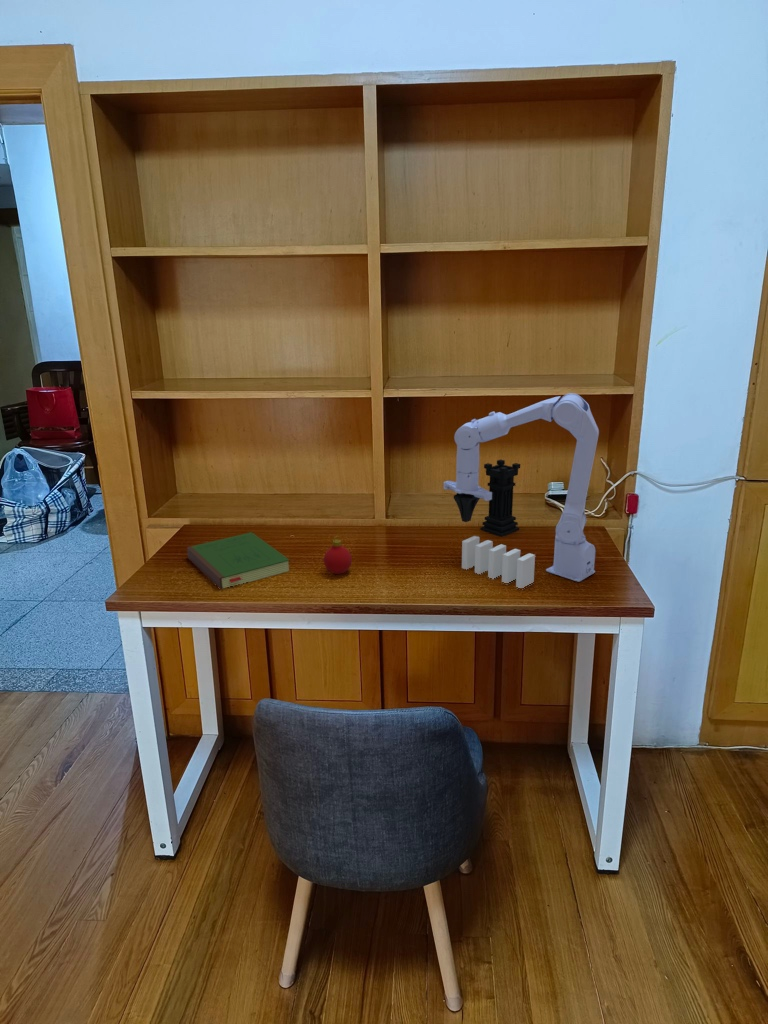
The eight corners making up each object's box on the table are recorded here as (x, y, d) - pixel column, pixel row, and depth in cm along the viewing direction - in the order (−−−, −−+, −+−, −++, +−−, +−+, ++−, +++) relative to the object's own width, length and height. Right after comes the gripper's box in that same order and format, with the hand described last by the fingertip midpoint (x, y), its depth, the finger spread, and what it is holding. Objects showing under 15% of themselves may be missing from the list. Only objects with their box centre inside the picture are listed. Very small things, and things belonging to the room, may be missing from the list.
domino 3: (505, 573, 172) (506, 545, 169) (493, 579, 168) (494, 551, 166) (500, 571, 173) (501, 544, 170) (487, 577, 169) (488, 549, 167)
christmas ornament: (346, 564, 179) (344, 529, 175) (356, 575, 173) (355, 538, 169) (320, 570, 176) (318, 534, 173) (330, 580, 170) (328, 543, 167)
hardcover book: (188, 560, 185) (186, 547, 184) (252, 544, 195) (251, 532, 194) (222, 593, 166) (220, 579, 164) (291, 574, 175) (290, 560, 174)
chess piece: (480, 529, 200) (482, 464, 194) (497, 523, 205) (500, 458, 199) (501, 537, 195) (504, 469, 188) (519, 529, 200) (522, 464, 193)
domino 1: (478, 564, 177) (479, 537, 175) (466, 569, 174) (467, 542, 172) (473, 562, 178) (474, 535, 176) (461, 568, 175) (462, 541, 173)
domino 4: (519, 578, 169) (520, 550, 166) (507, 584, 166) (508, 556, 163) (513, 576, 170) (515, 548, 167) (501, 582, 167) (502, 554, 164)
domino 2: (491, 568, 174) (492, 541, 172) (479, 574, 171) (480, 547, 169) (486, 566, 176) (487, 539, 173) (474, 572, 172) (475, 545, 170)
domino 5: (533, 583, 166) (535, 554, 163) (521, 589, 163) (522, 561, 160) (528, 581, 167) (529, 553, 164) (515, 587, 164) (517, 559, 161)
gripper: (435, 468, 175) (435, 517, 180) (480, 479, 166) (478, 531, 170) (453, 462, 180) (452, 511, 185) (498, 473, 170) (495, 524, 175)
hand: (466, 520), depth 178 cm, fingers closed
